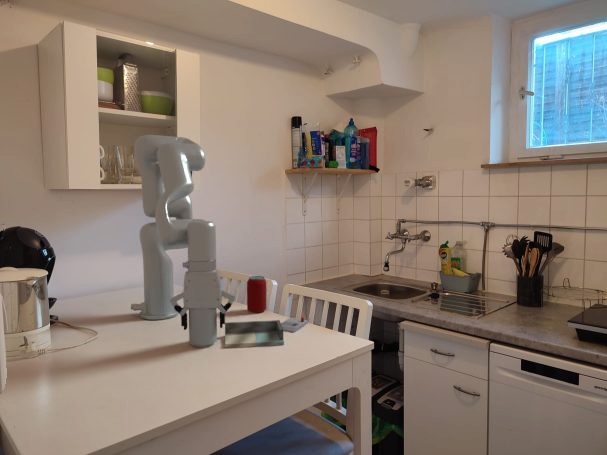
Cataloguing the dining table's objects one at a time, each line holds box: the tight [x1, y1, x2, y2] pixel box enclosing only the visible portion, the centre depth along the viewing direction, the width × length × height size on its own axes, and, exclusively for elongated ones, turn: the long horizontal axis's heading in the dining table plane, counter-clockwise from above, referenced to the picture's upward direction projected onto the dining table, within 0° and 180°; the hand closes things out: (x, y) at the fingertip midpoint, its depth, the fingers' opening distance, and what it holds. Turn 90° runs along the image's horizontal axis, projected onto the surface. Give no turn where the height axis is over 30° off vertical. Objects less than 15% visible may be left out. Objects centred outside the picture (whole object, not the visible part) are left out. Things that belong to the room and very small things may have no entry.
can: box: [188, 305, 218, 348], centre depth 123 cm, size 8×8×12 cm
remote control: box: [281, 317, 310, 333], centre depth 140 cm, size 7×16×3 cm, turn 155°
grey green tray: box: [224, 319, 285, 349], centre depth 126 cm, size 16×10×4 cm, turn 100°
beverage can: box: [246, 275, 267, 314], centre depth 157 cm, size 7×7×12 cm
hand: (203, 327), depth 123 cm, fingers open, 9 cm apart
